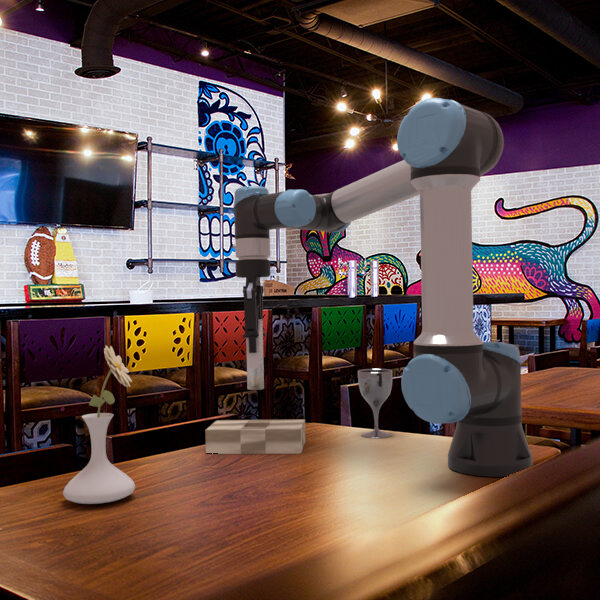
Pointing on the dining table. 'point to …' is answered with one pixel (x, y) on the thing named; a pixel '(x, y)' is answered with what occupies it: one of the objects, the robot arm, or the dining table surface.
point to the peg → (257, 374)
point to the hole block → (255, 436)
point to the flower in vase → (101, 450)
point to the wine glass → (375, 394)
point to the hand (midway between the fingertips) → (255, 367)
